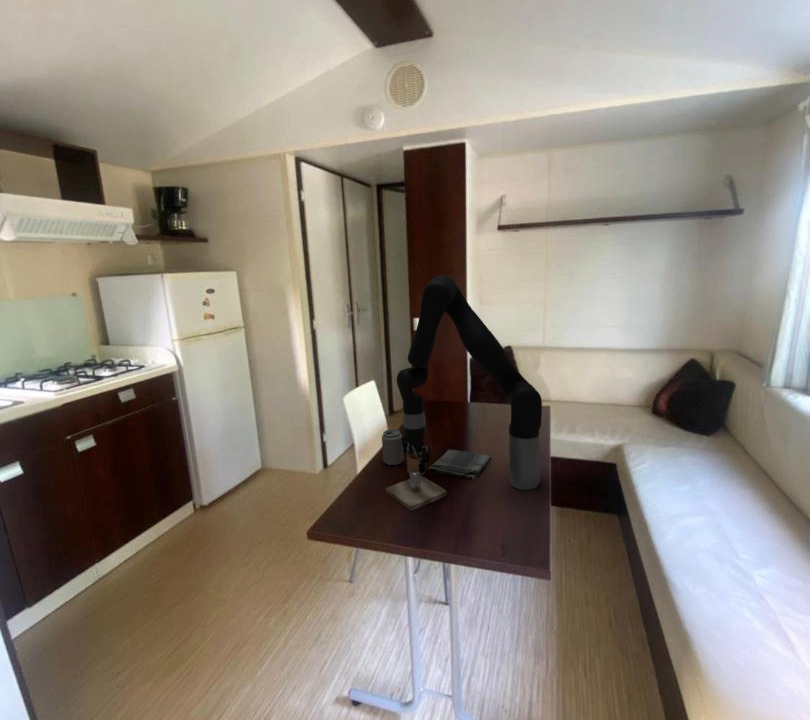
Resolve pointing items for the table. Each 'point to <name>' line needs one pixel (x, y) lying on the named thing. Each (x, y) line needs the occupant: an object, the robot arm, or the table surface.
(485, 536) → the table surface
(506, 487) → the table surface
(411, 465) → the collar
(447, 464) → the dish towel
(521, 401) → the robot arm
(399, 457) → the can
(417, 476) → the grey glossy cylinder
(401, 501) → the base
